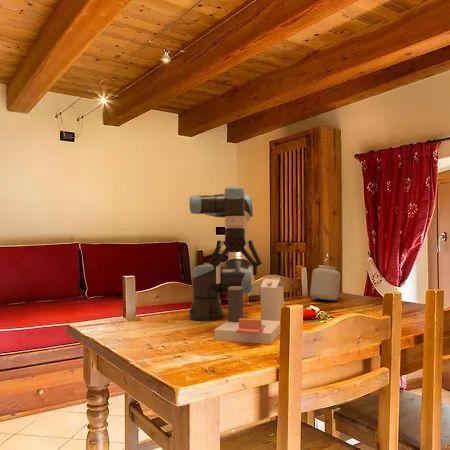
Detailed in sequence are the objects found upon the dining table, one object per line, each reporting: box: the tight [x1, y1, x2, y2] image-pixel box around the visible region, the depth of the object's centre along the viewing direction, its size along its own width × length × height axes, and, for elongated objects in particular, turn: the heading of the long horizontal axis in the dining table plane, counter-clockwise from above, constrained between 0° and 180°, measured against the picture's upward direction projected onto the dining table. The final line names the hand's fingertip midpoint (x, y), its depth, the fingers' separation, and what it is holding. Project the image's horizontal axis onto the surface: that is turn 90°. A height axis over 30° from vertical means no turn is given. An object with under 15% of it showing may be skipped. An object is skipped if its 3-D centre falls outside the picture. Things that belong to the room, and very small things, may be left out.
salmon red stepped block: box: [236, 318, 264, 335], centre depth 143 cm, size 8×8×4 cm
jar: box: [309, 254, 341, 301], centre depth 229 cm, size 19×15×25 cm
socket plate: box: [213, 320, 281, 345], centre depth 154 cm, size 20×20×4 cm
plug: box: [227, 286, 244, 322], centre depth 162 cm, size 4×4×13 cm
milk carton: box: [259, 275, 285, 321], centre depth 173 cm, size 7×7×19 cm
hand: (235, 283), depth 162 cm, fingers open, 13 cm apart
